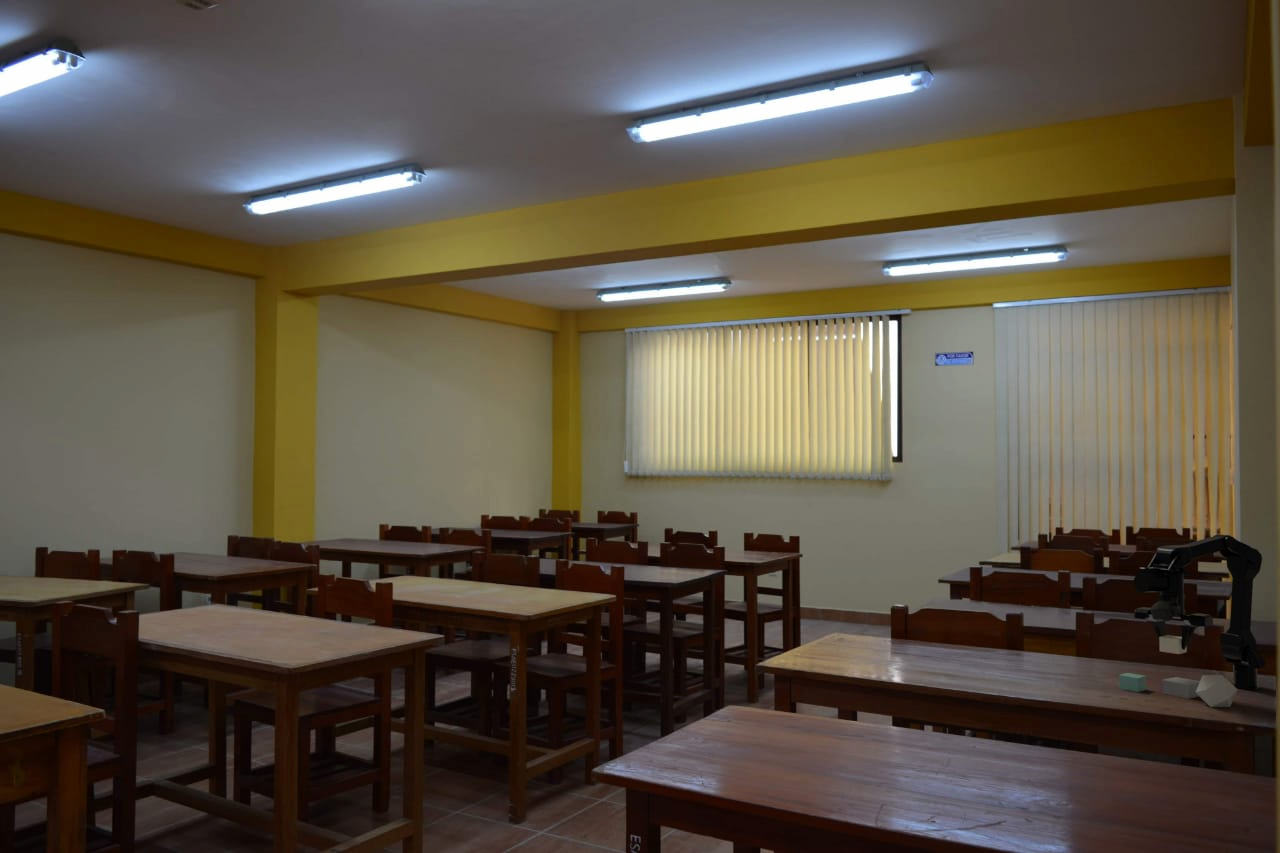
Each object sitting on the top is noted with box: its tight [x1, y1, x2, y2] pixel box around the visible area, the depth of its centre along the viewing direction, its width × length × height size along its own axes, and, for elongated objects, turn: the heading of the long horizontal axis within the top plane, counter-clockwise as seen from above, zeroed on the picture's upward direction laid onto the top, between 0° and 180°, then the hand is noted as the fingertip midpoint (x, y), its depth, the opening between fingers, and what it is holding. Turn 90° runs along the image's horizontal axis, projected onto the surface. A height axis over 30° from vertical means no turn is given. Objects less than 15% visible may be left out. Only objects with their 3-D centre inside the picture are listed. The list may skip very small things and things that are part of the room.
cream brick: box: [1158, 634, 1188, 655], centre depth 258 cm, size 5×5×4 cm
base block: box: [1161, 676, 1200, 700], centre depth 254 cm, size 7×7×4 cm
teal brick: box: [1118, 672, 1147, 693], centre depth 260 cm, size 5×5×4 cm
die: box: [1196, 674, 1239, 708], centre depth 242 cm, size 8×9×10 cm
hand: (1173, 647), depth 258 cm, fingers closed on cream brick, 5 cm apart
